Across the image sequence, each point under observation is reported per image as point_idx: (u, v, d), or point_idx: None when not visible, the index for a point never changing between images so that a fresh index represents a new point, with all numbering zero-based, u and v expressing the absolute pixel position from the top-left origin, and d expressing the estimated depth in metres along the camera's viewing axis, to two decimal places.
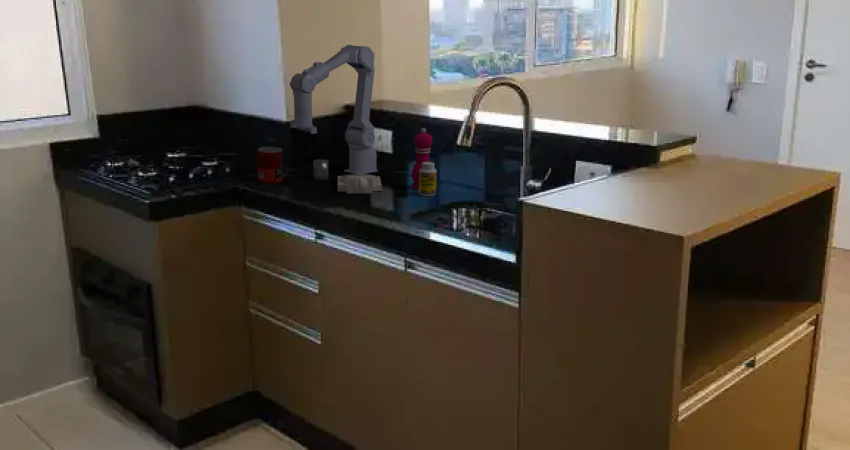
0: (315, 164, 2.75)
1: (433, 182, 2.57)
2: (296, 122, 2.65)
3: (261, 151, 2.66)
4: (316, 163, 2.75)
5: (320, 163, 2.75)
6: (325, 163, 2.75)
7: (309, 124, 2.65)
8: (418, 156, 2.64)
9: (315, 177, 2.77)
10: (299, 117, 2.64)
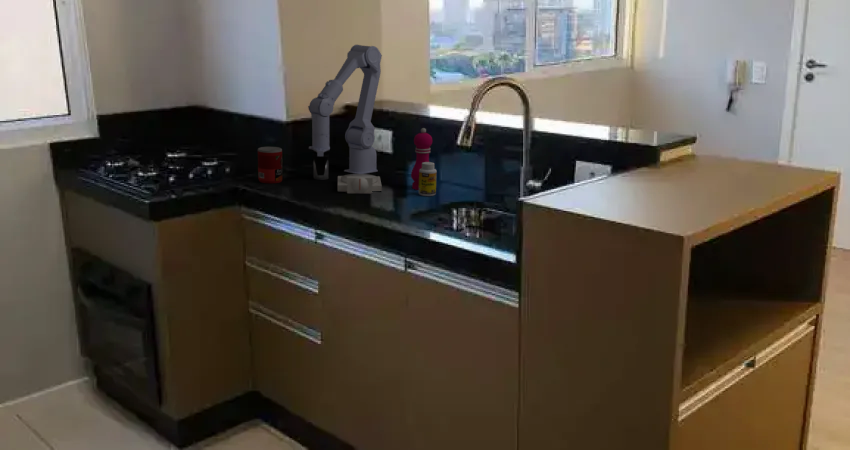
0: None
1: (433, 182, 2.57)
2: (312, 144, 2.75)
3: (261, 151, 2.66)
4: None
5: None
6: None
7: (323, 147, 2.73)
8: (418, 156, 2.64)
9: (315, 177, 2.77)
10: (313, 139, 2.73)
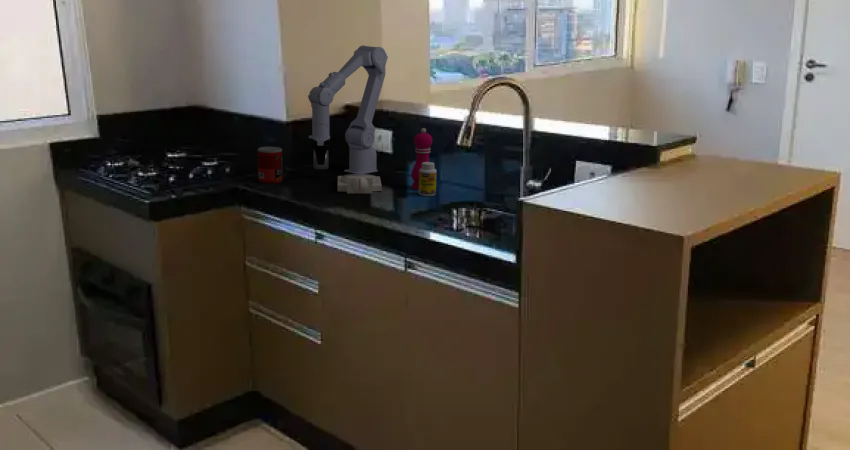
0: (315, 154, 2.75)
1: (433, 182, 2.57)
2: (312, 133, 2.74)
3: (261, 151, 2.66)
4: None
5: None
6: None
7: (323, 136, 2.72)
8: (418, 156, 2.64)
9: (315, 167, 2.76)
10: (313, 128, 2.72)
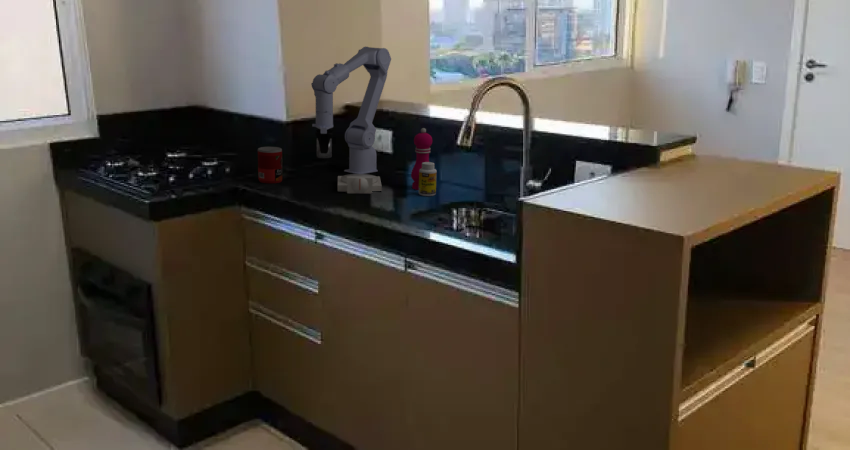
0: (318, 142, 2.72)
1: (433, 182, 2.57)
2: None
3: (261, 151, 2.66)
4: None
5: None
6: None
7: (326, 124, 2.70)
8: (418, 156, 2.64)
9: (318, 155, 2.74)
10: (317, 117, 2.70)
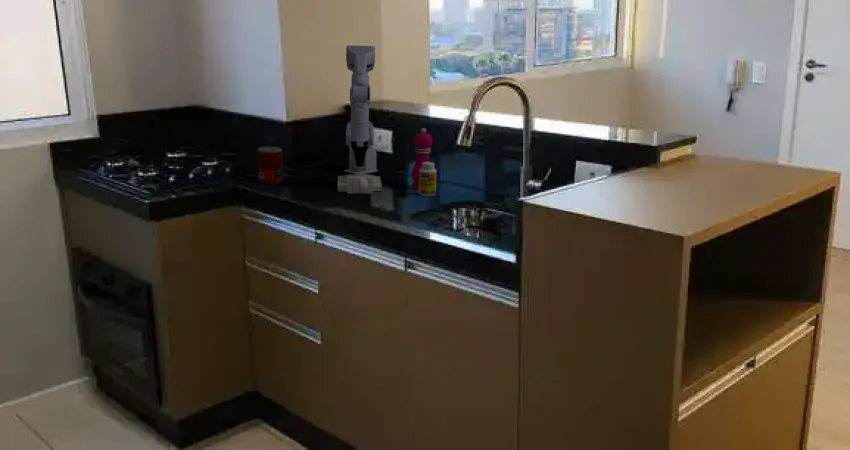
0: (352, 155, 2.63)
1: (433, 182, 2.57)
2: (351, 133, 2.62)
3: (261, 151, 2.66)
4: (353, 154, 2.63)
5: None
6: None
7: (362, 137, 2.61)
8: (418, 156, 2.64)
9: (352, 169, 2.64)
10: (352, 129, 2.61)
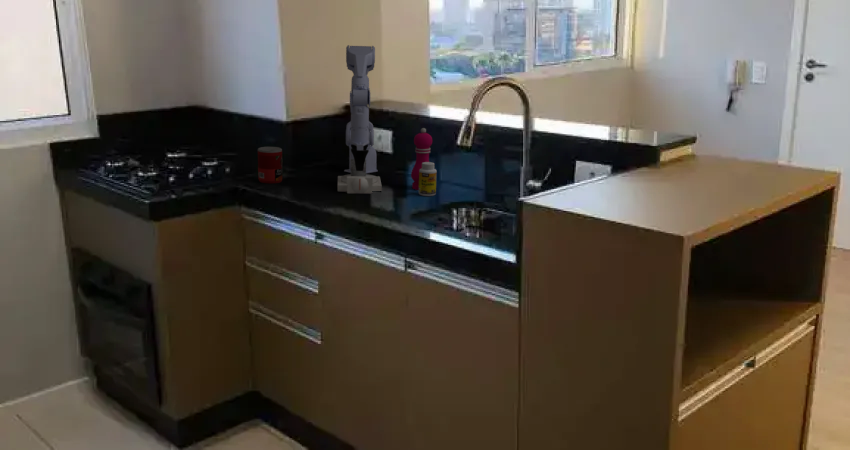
0: (352, 163, 2.64)
1: (433, 182, 2.57)
2: (351, 137, 2.62)
3: (261, 151, 2.66)
4: (353, 162, 2.63)
5: None
6: None
7: (362, 140, 2.61)
8: (418, 156, 2.64)
9: None
10: (352, 133, 2.61)
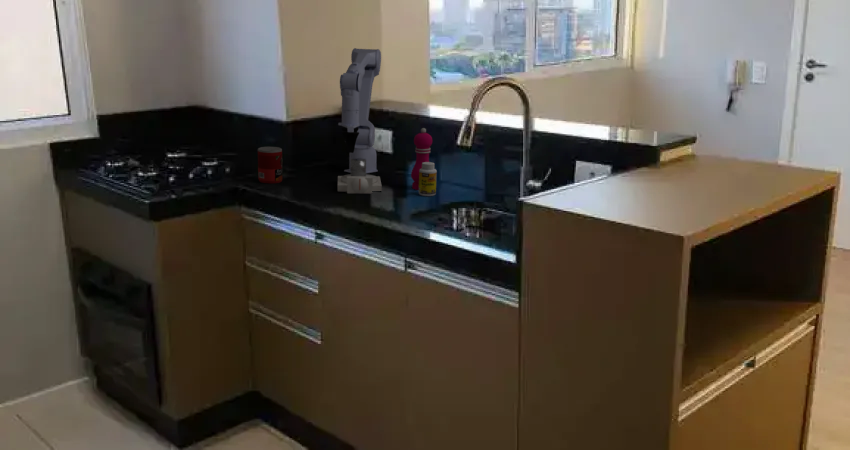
0: (352, 163, 2.64)
1: (433, 182, 2.57)
2: (342, 120, 2.70)
3: (261, 151, 2.66)
4: (353, 162, 2.63)
5: (357, 162, 2.63)
6: (362, 162, 2.63)
7: (353, 123, 2.68)
8: (418, 156, 2.64)
9: None
10: (343, 115, 2.68)
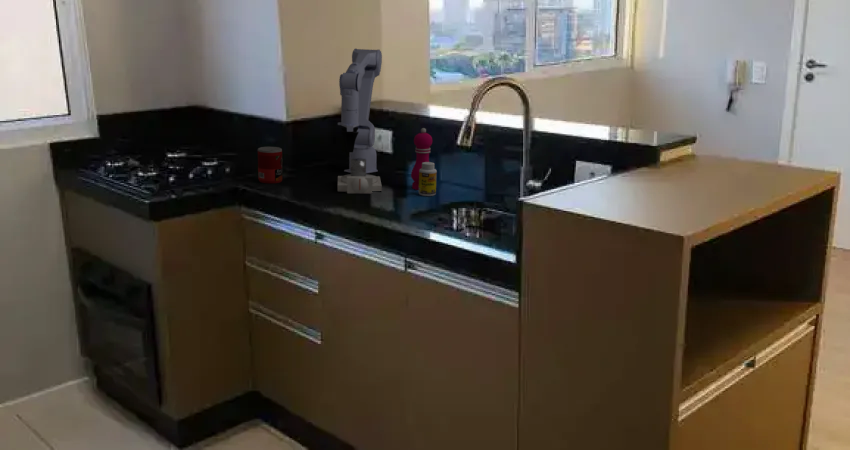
0: (352, 163, 2.64)
1: (433, 182, 2.57)
2: (341, 120, 2.70)
3: (261, 151, 2.66)
4: (353, 162, 2.63)
5: (357, 162, 2.63)
6: (362, 162, 2.63)
7: (352, 123, 2.68)
8: (418, 156, 2.64)
9: None
10: (342, 115, 2.68)
